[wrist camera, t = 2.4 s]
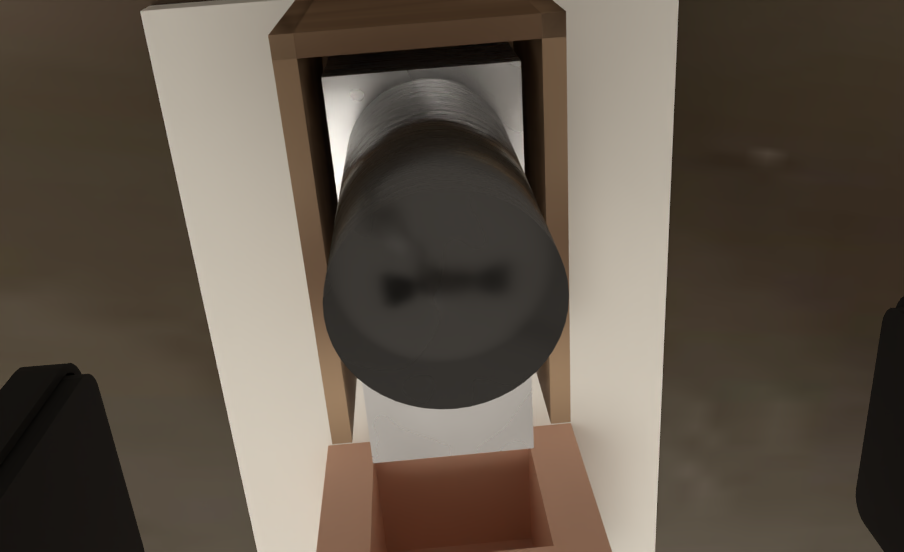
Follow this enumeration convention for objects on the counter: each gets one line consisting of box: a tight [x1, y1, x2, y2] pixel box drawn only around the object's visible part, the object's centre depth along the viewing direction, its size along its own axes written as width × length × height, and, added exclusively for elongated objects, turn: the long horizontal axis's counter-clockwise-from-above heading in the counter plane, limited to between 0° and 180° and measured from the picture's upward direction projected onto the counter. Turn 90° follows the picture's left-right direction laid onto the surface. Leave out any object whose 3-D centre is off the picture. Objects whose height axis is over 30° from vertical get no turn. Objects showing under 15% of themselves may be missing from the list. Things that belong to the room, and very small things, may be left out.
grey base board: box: [140, 0, 679, 552], centre depth 27 cm, size 20×14×1 cm
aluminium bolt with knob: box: [321, 41, 569, 463], centre depth 19 cm, size 10×4×11 cm, turn 4°
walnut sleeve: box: [268, 0, 571, 444], centre depth 22 cm, size 10×6×6 cm, turn 4°
